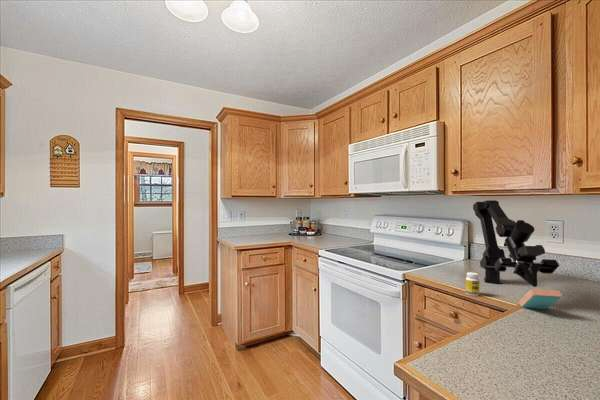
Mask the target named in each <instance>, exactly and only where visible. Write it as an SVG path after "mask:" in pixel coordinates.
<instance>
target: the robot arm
mask: <svg viewBox="0 0 600 400" xmlns="http://www.w3.org/2000/svg"><path fill="white" fill-rule="evenodd" d="M472 209H473V212H474V215H475V216H476V217H477V218H478V219H479V220H480V226H481V230H482V231H481V232H482V235H483V240H484V244H485V245H484V247H485V249H484V251H483V253H482V257H481V259H480V262H479V266H480V268H482V269H483V270H484V277H483V281H484V283H491V284H497V285H502V284H503V282H502V281H501V272H506V270H507V268H513V274H514V275H517V276H519V277H520V278H521V279H523V280H524V281H526V282H527V283H528V284H529V285H530V286H532V287H533V288H536V287H538V272H539V273H541V274H548V275H549V274H553V273H554V272H555V271H556V270H557V269H558V268H559V267H560V264H559V262H558V261H557V260H556V259H549V258H547V259H546V258H543V259H541V261H540V262H538V261H537V262H534V261H536V260H537V257H538V256H539V257H540V256H541V255H544V254H546V250H545V247H544V246H543V245H542V244H535V245H526V244H525V243H526V242H528V241H529V239H530V238H531V236H532V235H533V234H534V232H535V227H534V226H533V225H532V224H531V223H528V222H525V221H524V219H523V220H522V219H517V221H514V220H512V219H511V218H509V217H508V216H507V214H506V213H505V211H504V210H503V209H502V207H501V205H500V204H499V201H498V200H495V199H490V200H487V199H486V200H484V201H476V202H475V203H474V204H473V205H472ZM494 223H495V224H496V226H495V227H494ZM496 234H497V235H498V237H500V238H505V239H504V242H503V247H506V248H507V250H508V252H509V255H508V257H506V256H505V250H504V249H503V248H500V247H499V245H498V241H497V237H496Z"/></svg>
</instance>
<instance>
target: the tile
mask: <svg viewBox="0 0 600 400" xmlns="http://www.w3.org/2000/svg"><path fill="white" fill-rule="evenodd" d="M562 297H563V295H562V294H561V292H560V290H554V289H535V288H531V289H529V291H528V292H527V293H526V294H525V295H524V296H523V297H522V298H521V299H519V301H518V302H519V305H520V307H521V308H522V309H536V310H537V309H538V310H548V309H550V308H551V306H553V305H554V304H555V303H556V302H557V301H559V300H560V299H561V298H562Z"/></svg>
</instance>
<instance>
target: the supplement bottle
mask: <svg viewBox="0 0 600 400" xmlns="http://www.w3.org/2000/svg"><path fill="white" fill-rule="evenodd" d="M465 293H466V295H468V296H472V297H473V296H474V297H478V296H479V295H480V278H479V274H478V273H476V272H470V271H469V272H466V277H465Z"/></svg>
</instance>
